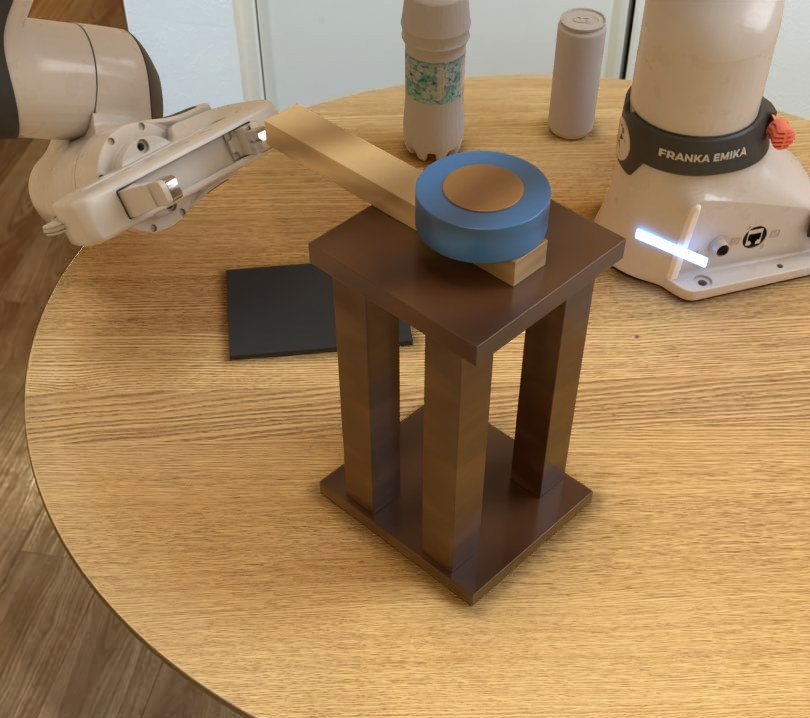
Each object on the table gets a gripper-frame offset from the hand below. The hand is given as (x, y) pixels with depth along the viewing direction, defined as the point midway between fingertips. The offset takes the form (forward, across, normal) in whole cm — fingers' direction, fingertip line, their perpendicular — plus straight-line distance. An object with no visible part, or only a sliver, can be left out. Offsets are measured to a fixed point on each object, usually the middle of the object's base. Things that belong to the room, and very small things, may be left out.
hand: (221, 162), depth 87 cm
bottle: (-18, +34, +11) cm, 40 cm away
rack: (+12, 0, +28) cm, 31 cm away
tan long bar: (+19, 0, +4) cm, 19 cm away
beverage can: (-11, +47, +15) cm, 51 cm away
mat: (-9, +8, +16) cm, 20 cm away
